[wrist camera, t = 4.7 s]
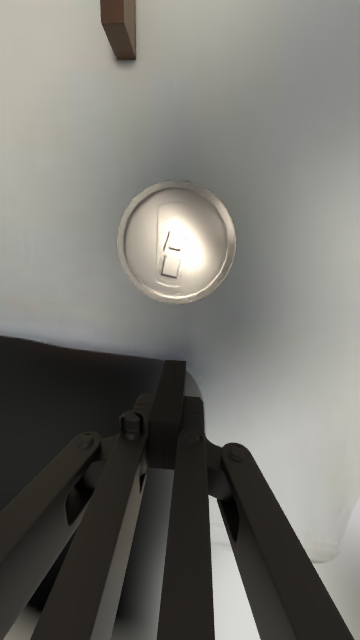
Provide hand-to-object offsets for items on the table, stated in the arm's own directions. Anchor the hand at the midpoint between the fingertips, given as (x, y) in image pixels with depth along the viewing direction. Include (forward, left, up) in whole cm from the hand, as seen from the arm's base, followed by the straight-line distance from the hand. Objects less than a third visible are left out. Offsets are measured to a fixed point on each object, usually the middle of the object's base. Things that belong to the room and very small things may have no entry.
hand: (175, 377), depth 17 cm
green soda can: (0, -9, -7) cm, 12 cm away
